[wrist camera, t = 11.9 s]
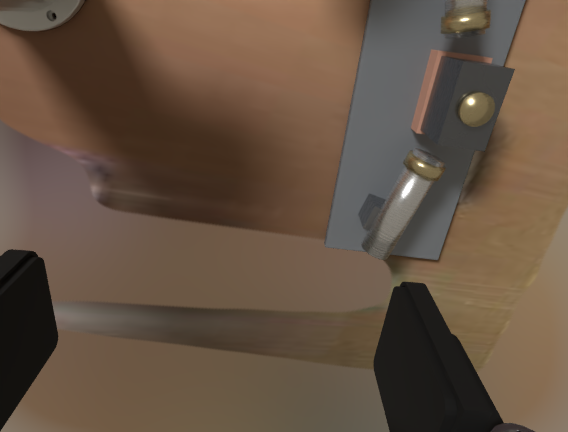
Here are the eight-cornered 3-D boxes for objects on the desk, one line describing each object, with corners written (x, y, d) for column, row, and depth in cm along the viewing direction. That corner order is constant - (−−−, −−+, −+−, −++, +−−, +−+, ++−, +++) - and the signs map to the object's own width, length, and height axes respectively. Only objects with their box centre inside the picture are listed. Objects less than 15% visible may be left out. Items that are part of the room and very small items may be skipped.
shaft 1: (397, 133, 41) (415, 153, 35) (431, 147, 42) (456, 170, 36) (350, 221, 46) (359, 253, 40) (382, 233, 46) (396, 266, 40)
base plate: (324, 242, 47) (326, 256, 44) (401, -164, 31) (411, -181, 29) (435, 255, 47) (443, 269, 45) (565, -139, 32) (591, -153, 29)
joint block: (420, 129, 38) (439, 146, 33) (441, 55, 35) (466, 62, 30) (461, 135, 38) (487, 153, 33) (486, 62, 35) (518, 70, 30)
